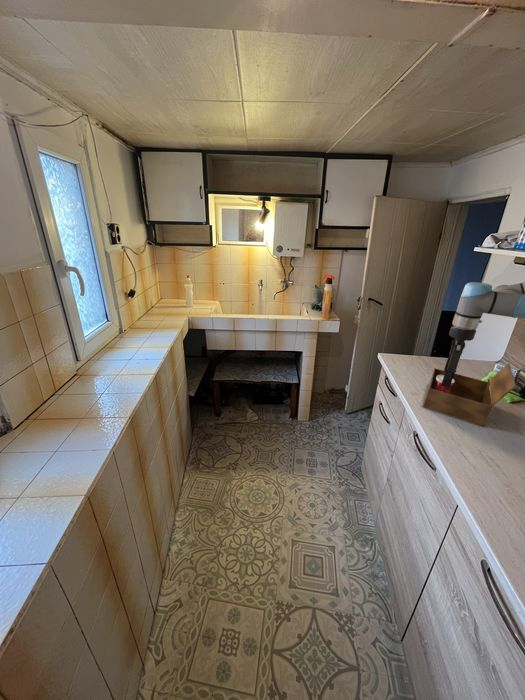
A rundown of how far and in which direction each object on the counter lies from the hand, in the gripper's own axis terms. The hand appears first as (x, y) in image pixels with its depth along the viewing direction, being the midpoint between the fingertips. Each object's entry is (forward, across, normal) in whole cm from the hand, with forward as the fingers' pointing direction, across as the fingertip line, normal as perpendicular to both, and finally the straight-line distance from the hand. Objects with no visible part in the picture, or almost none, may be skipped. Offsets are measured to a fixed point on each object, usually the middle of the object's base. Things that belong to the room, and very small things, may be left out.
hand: (446, 378), depth 109 cm
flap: (-4, 0, -16) cm, 16 cm away
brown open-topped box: (+10, 0, -5) cm, 11 cm away
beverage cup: (+9, 0, 0) cm, 9 cm away
